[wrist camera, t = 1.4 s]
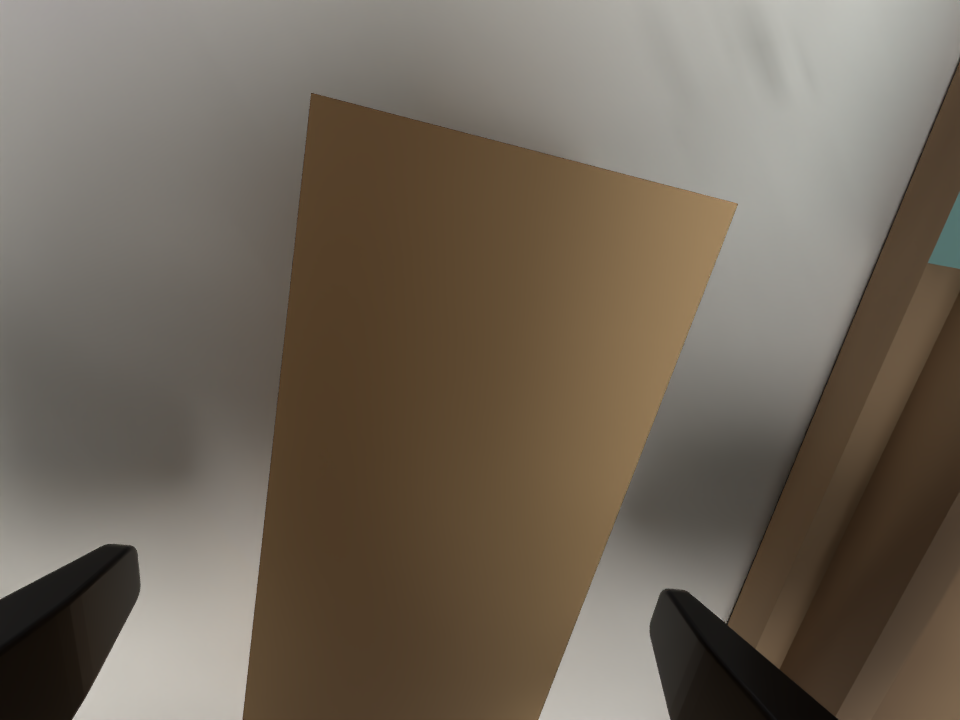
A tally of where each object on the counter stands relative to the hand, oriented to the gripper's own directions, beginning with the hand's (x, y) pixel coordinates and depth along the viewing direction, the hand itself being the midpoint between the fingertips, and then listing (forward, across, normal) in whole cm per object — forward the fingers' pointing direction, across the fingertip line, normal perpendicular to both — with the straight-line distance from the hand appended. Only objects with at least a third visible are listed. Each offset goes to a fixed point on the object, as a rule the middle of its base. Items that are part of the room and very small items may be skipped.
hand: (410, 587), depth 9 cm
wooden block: (+2, 0, 0) cm, 3 cm away
